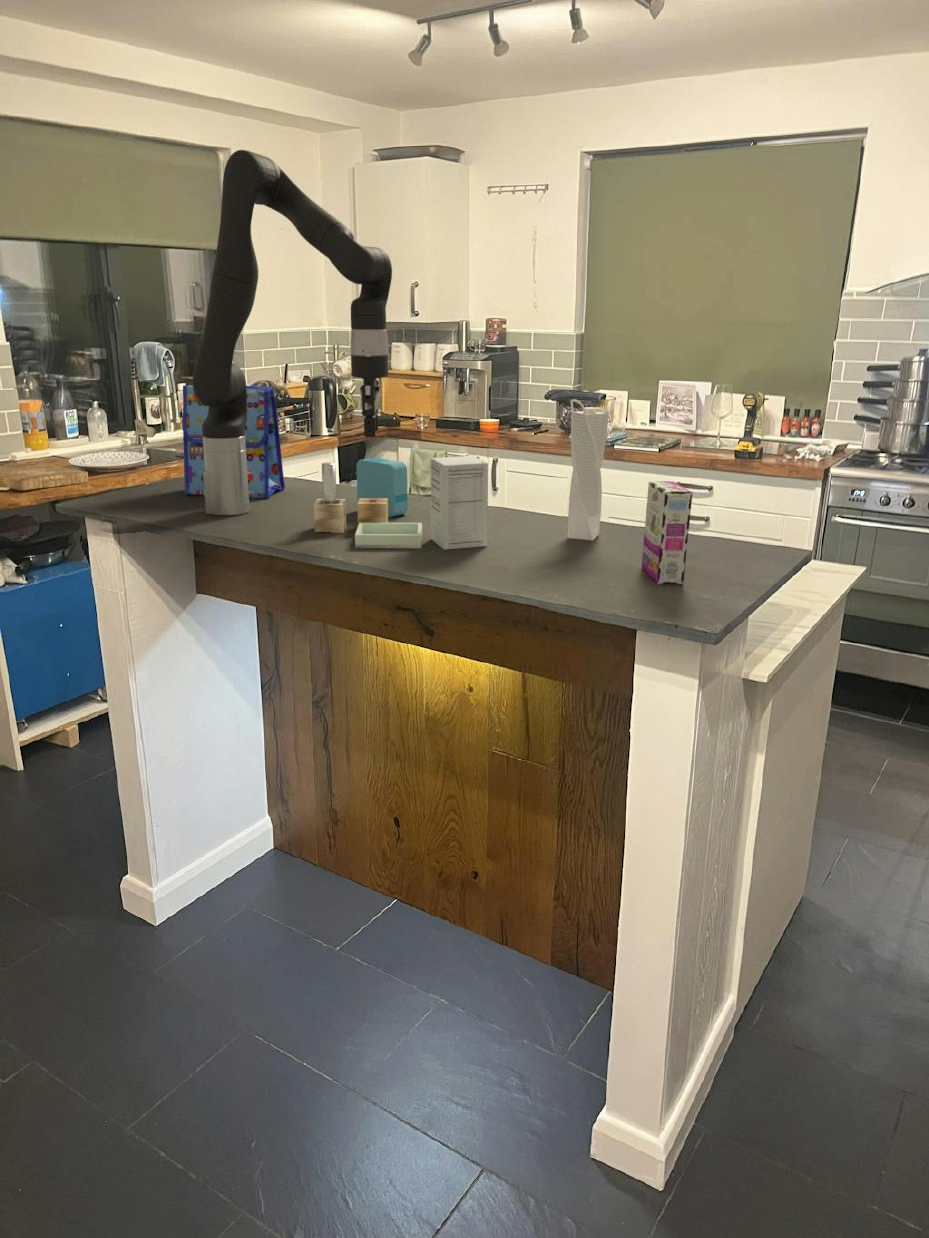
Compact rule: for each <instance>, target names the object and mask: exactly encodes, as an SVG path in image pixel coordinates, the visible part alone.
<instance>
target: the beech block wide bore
mask: <svg viewBox="0 0 929 1238" xmlns="http://www.w3.org/2000/svg"><path fill="white" fill-rule="evenodd" d="M336 499H337V504H323V498H317V499H315V502H314V503H313V520H314V522H313V523H314V533H315V532H330V533H329V534H344V533H345V531H344V530H346V527H347V514H346V513H347V511H346V498H336ZM331 532H332V533H331Z"/></svg>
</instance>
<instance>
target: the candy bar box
mask: <svg viewBox="0 0 929 1238" xmlns="http://www.w3.org/2000/svg"><path fill="white" fill-rule="evenodd" d="M647 488H648V489H647V500H646V501H647V502H646V508H645V510H646V511H645V521H644V522H645V523H644V532H643V533H644V534H643V535H644V537H643V548H642V557H641V558H642V559H641V561H642V562H641V570H643V571H644V573H646V575H647V576H648V577H649V578H651V579H652V580H653V581H654V582H655V583H656V584H657V585H661V586H663V585H664V586H665V585H667V586H668V585H669V586H671V585H672V586H674V585H677V586H678V585H679V584H682V585H684V581H685V571H686V560H687V551H688V541H689V540H688V539H689V531H690V521H691V514H692V513H691V511H692V501H693V492H692V491H690V489H687V488H685V487H683V486H682V485H681V484H678V483H676V482H675V481H669V480H667V481H665V480H661V481H659V480H658V481H657V480H656V481H655V480H654V481H650V480H649V481H648V486H647ZM679 586H680V585H679Z"/></svg>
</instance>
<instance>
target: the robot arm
mask: <svg viewBox="0 0 929 1238" xmlns="http://www.w3.org/2000/svg"><path fill="white" fill-rule="evenodd" d="M220 205H221V206H220V207H221V210H220V220H219V221H220V224H219V231H218V238H217V244H216V253H215V258H214V265H213V268H212V274H211V275H212V276H211V281H210V287H209V297H208V302H207V303H208V304H207V310H206V314H205V315H206V316H205V323H204V327H203V328H204V330H203V335H202V339H201V343H200V348H199V352H198V355H197V359H196V363H195V366H194V370H193V374H192V384H191V385H193V390H194V393H195V395H196V397H197V398H198V400H199V401H200V402H201V403H203V404H204V405H207V406H209V411H208V415H207V418H206V420H205V421H204V422H203V424H202V436H203V448H204V461H205V471H204V472H203V481H204V494H205V496H204V504H205V514H206V515H216V516H238V515H242V514H247V513H249V512H250V511H251V508H250V498H249V491H248V475H247V460H246V445H245V425H246V422H247V388H246V386H247V382H246V376H245V374H244V372H243V370H242V369H241V367H239V366H238V365H237V364H236V363H234V362H233V361H234V360H233V359H234V355H235V348H236V345H237V342H238V340H239V337H240V335H241V333H242V331H243V329H244V327H245V325H246V323H247V321H248V319H249V317H250V315H251V312H252V310H253V307H254V303H255V299H256V293H257V288H258V282H259V266H258V261H257V256H256V252H255V248H254V243H253V239H252V238H253V237H252V219H253V215H254V206H255V205H257V206H258V205H259V206H265V207H267V208H270V209H271V210H273V211H276V212H278V213H279V214H280V215H282V216H283V217H285V218H286V219H287V220H288V221H290V222H291V224H292V225H293V227H295V229H296V231H297V232H298V233H299V235H300V236H301V237H302V238H303V240H305V241H306V242H307V243H308V244H309V245H311V246H312V247H313V248H314V249H316V250H317V251H318V252H319V253H321V254H322V255H323V256H325V257H326V258H327V259H328V260H329V261H330V262H331V263H332V265H333V266H334V268H335V269H336V270H337V271H338V272H339V273H340V274H341V276H342V277H344V278H345V279H346V280H347V281H350V282H351V283H354V284H355V285H356V284H357V285H361V288H360V294H359V296H358V297H357V298H354V299H353V300H352V301H351V304H350V329H351V331H350V343H349V344H350V345H349V346H350V371H351V373H350V374H351V376H352V377H353V378H357V379H362V380H363V384H362V385H361V386H360V387H359V393H360V407H361V410H362V411H361V415H362V417H363V428H364V429H363V431H364V437H365V438H375V437H376V435H377V433H376V432H378V431H379V414H378V413H379V411H380V405H381V386H380V385H379V384H380V382H379V379H383V378H387V377H388V376H389V339H388V333H387V309H386V307H387V303H388V300H389V295H390V289H391V284H392V279H393V268H392V266H393V265H392V261H391V259H390V258H391V257H390V256H389V254H388V253H387V252H386V251H385V250H384V249H383V248H381V247H377V246H366V245H363V244H360V243H359V242H357V241H355V236H354V233H353V232H352V231H351V230H350V228H349V227H347V226H346V224H344V223H342V221H340V220H339V219H337V218H336V217H335V216H333V215H332V214H331V213H329V212H328V211H327V210H326V209H324V208H323V207H322V206H320V205H319V204H317V203H316V202H315V201H314V200H313V199H311V198H310V197H309V196H307V195H306V193H304V192H303V191H302V189H301V188H299V186H298V185H297V184H295V183H294V181H293V179H291V178H290V177H289V176H288V174H287V173H286V172H285V171H284V170H283V169H282V168H281V167H280V166H279V165H278V164H277V162H275V161H274V160H273V159H272V158H269V157H268V156H265V155H261V154H259V153H256V152H253V151H250V150H245V149H238V150H235V151H234V152H232V154H231V155H230V156H229V158H228V159H227V161H226V164H225V167H224V170H223V178H222V191H221V204H220Z"/></svg>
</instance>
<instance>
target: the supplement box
mask: <svg viewBox="0 0 929 1238" xmlns="http://www.w3.org/2000/svg"><path fill="white" fill-rule="evenodd" d="M488 476H489V463H488V462H486V461H484V460H482V459H480V458H478V457H476V456H475V455H465V456H446V457H432V458H430V510H431V511H430V512H431V513H430V517H431V519H430V521H431V523H430V526H431V528H430V529H431V540H432V541H433V542H434V543H436V544H437V545H438V546H439V547H441V549H443V550H446V551H447V550H453V549H454V550H455V549H456V550H457V549H466V548H467V549H469V548H480V547H488V514H489V513H488V506H489V505H488V504H489V503H488V501H489V499H488V498H489V496H488V495H489V491H488V490H489V487H488V486H489V483H488V481H489V477H488Z"/></svg>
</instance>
